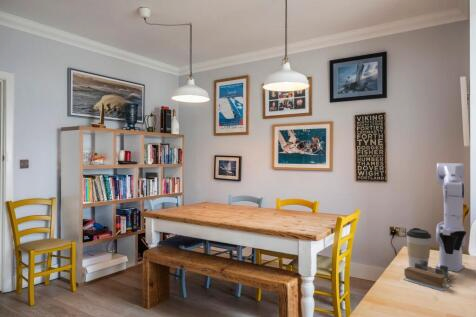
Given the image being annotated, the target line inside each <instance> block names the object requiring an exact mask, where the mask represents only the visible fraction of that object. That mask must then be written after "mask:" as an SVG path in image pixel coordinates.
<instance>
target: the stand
mask: <svg viewBox="0 0 476 317" xmlns="http://www.w3.org/2000/svg"><path fill="white" fill-rule="evenodd" d="M415 268H417V269H421V270H425V271H428V268H429V261H428V262H427V261H422V260H420V264H418V263H415ZM434 273H436V274H440V275H444V276H445V278H447V282H449V281H450V280H451V276H449V270H448V266H443V265H440V268H439V267H435V268H434Z"/></svg>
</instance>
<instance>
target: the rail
mask: <svg viewBox="0 0 476 317" xmlns="http://www.w3.org/2000/svg"><path fill="white" fill-rule="evenodd" d="M404 277H405V278H408V279H412V280H415V281H419V282H422V283H426V284H429V285H433V286H436V287H440V288H442V287H444V286H446V285H447V284H448V281H447V278H445V276H444V275H440V274H436V273H435V272H433V271H425V270H421V269H417V268H414V267H411V266H408V267H406V268H404Z"/></svg>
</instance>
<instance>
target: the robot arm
mask: <svg viewBox="0 0 476 317" xmlns="http://www.w3.org/2000/svg"><path fill="white" fill-rule="evenodd" d="M464 176H465V164H464V163H463V162H459V163H456V162H453V163H452V162H451V163H450V162H437V163H436V181H437V183H438V184H439V185H441V186H442V194H443V195H442V196H443V220H442V221H441V222H439V223H437V225H436V229H435V230H436V231H435V242H436V244H439V253H438V254H439V256H438V257H439V259H438V260H439V261H438V264H436V265H435V268H438V269H440V265H443V266H448V271H452V272H456V273H459V272H460V271H461V270H463V269H464V268H465V267H466V266H465V265H464V264H463V250H462V247H464V246H465V245H466V235H467V231H466V230H465V227H464V225H463V221H464V217H463V216H464V199H465V196H466V185H465V182H464Z"/></svg>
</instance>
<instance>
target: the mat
mask: <svg viewBox="0 0 476 317" xmlns="http://www.w3.org/2000/svg"><path fill="white" fill-rule="evenodd" d="M403 281H407V282H410V283H413V284H416V285H420V286H424V287H427V288H430V289H434V290H438V291H441V292H444V291H445V290H447V289H448V288H449V287H451V284H448V283H447V285H446V286H444V287H442V288H440V287H436V286H433V285H429V284H426V283H422V282H419V281H415V280H412V279H408V278H403Z"/></svg>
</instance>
